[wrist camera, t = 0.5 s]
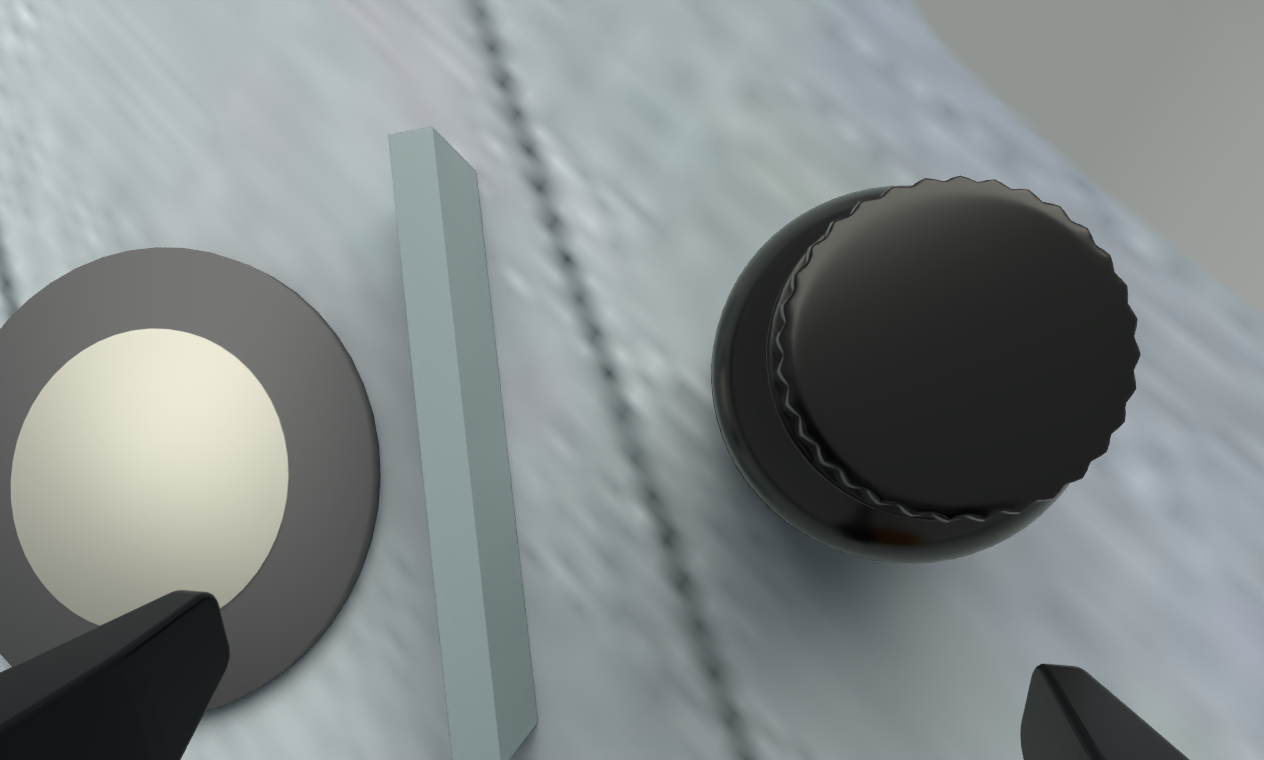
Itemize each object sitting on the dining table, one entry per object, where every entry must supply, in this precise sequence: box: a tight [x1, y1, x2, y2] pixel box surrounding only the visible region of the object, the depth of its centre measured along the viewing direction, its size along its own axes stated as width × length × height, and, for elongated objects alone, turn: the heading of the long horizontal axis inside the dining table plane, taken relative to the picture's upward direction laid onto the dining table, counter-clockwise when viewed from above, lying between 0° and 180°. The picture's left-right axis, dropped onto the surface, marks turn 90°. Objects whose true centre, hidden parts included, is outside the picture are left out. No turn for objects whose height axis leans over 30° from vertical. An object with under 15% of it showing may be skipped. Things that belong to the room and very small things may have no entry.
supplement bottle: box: [711, 176, 1140, 563], centre depth 17 cm, size 7×7×12 cm
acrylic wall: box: [388, 127, 538, 760], centre depth 23 cm, size 16×1×4 cm, turn 7°
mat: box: [0, 248, 380, 711], centre depth 25 cm, size 14×14×1 cm
